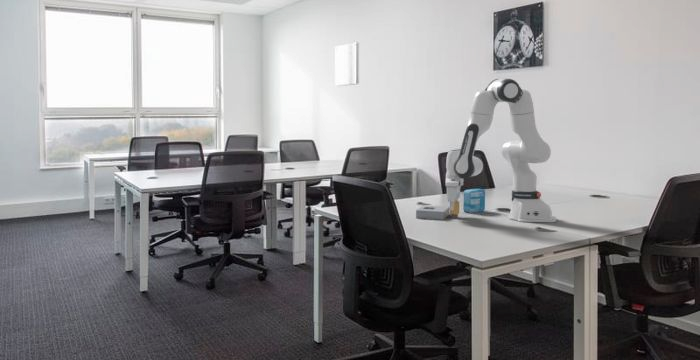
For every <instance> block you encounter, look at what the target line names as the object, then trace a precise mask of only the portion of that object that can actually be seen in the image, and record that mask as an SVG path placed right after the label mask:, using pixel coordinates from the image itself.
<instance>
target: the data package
mask: <svg viewBox="0 0 700 360" xmlns="http://www.w3.org/2000/svg"><path fill="white" fill-rule="evenodd" d="M462 206H463V211H464V212H465V213H469V214H473V213H474V214H475V213H479V212H480V213H482V212H484V211H485V209H486V190H485V189H483V188H471V189H465V190H464V191H463V205H462Z"/></svg>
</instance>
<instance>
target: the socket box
mask: <svg viewBox="0 0 700 360" xmlns="http://www.w3.org/2000/svg"><path fill="white" fill-rule="evenodd" d="M449 215H451V214H450V206H444V205H443V206H442V205H440V206H439V205H422V206H420V207H419V208H417V209H416V210H415V218H416V219H424V218H426V219H427V220H442V221H443V220H445V219H446V218H447V217H448V216H449Z"/></svg>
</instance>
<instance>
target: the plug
mask: <svg viewBox="0 0 700 360" xmlns="http://www.w3.org/2000/svg"><path fill="white" fill-rule="evenodd" d="M459 214H460V201H455V202H454V210H450V214H449V215H450V218H452V219H458V218H459Z"/></svg>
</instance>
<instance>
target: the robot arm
mask: <svg viewBox="0 0 700 360" xmlns="http://www.w3.org/2000/svg"><path fill="white" fill-rule="evenodd" d="M500 102H501V103H504V102H505V103H507V104H508V107H509V115H510V126H511V130H512V132H513V133H514V134H517V136H518V137H519V138H520V139H518V140H517V139H515V140H509V141H506V142H505V143H503V145H502V148H501V155H502V157H503V159H505V161H507V163H508V165H509V167H510V169H511V174H512V190H511V197H510V198H511V199H510V200H511V207H510V212H509V215H508V219H510V220H514V221H515V220H516V221H519V222H525V223H528V222H529V223H555V222H557V217H556V216H554V215H553V211H552V208H551V206H550V205H549V204H548V203H547V202H545V201H544V200H542V198H541V197H542V193H541V192H540V191H538V190H537V174H536V173H535V172H534V171H533V170H532V169H531V168H530V165H529V164H542V163H546V162H547V161H548V160H549V159H550V157H551V153H552V150H551V147H550V145H549V144H548V143H547V142H546V141H545V140H544V139H543V138H542V137H541V135H540V133H539V131H538V129H537V125H536V119H535V117H536V116H535V109H534V102H533V98H532V94H531V93H530V91H528V90H526V89H522V87H521V86H520V84H519V83H518V82H517V81H516V80H515V79H512V78H506V77H503V78H496V79H493V80H492V81H490V83H489V84H488V85H487V87H486V88H485V89H484V90H479V91H478V92H476V93H475V95H474V97H473V100H472V103H471V107H470V112H469V116H468V120H467V121H468V122H467V126H466V129H465V133H464V137H463V140H462V143H461V147H460V148H458V149H451V150H449V151H448V152H447V155H446V162H445V163H446V164H445V168H446V173H445V187H446V200H447V202H448V203H449V207H450V210H454V202H455V201H458V199H460V197H461V188H462V187H461V186H464V180H465V179H466V180H467V179H468V178H471V177H476V176H477V175H479V174H481V173H482V172H483V169H484V163H483V160H482V159H480V157H477V156H474V154H475V150H476V146H477V142H478V140H479V138H480V137H481V136H482V135H483V134H485V133H486V132H487V131H489V130H490V128H491V125H492V122H493V119H494V113H495V109H496V108H495V107H496V106H497V104H498V103H500Z"/></svg>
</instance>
